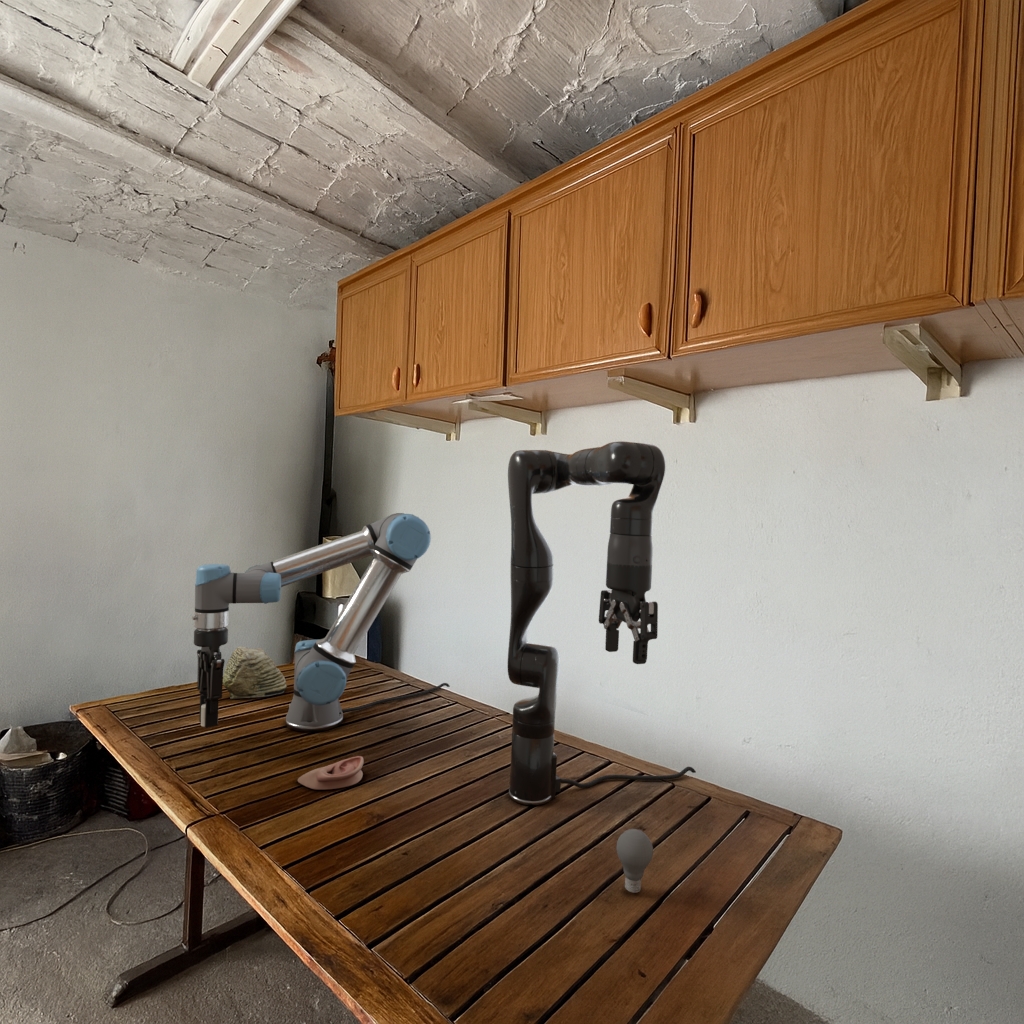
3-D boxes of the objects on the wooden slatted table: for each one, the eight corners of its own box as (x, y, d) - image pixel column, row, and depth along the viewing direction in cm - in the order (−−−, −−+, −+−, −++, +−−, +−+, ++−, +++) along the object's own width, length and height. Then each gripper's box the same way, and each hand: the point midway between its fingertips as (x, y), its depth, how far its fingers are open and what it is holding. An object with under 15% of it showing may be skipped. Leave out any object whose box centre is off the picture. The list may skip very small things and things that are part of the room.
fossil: (218, 695, 195) (220, 647, 195) (278, 685, 208) (279, 640, 207) (228, 703, 189) (230, 653, 188) (289, 692, 201) (290, 645, 201)
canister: (206, 728, 152) (206, 708, 152) (197, 724, 154) (198, 705, 154) (221, 723, 155) (221, 704, 155) (212, 720, 157) (212, 701, 157)
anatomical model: (290, 768, 137) (317, 748, 149) (290, 786, 138) (316, 764, 149) (347, 776, 135) (370, 755, 146) (346, 794, 135) (369, 772, 146)
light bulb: (610, 879, 108) (613, 822, 108) (644, 879, 109) (647, 822, 109) (619, 902, 102) (622, 840, 102) (655, 901, 103) (658, 840, 103)
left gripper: (184, 623, 158) (182, 716, 158) (205, 636, 145) (202, 737, 146) (216, 620, 163) (213, 711, 163) (239, 632, 150) (236, 730, 151)
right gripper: (674, 566, 101) (669, 666, 102) (625, 557, 114) (621, 646, 115) (634, 566, 98) (629, 669, 99) (588, 556, 112) (584, 648, 112)
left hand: (208, 723), depth 155 cm, fingers closed on canister, 4 cm apart
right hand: (624, 657), depth 107 cm, fingers open, 8 cm apart
